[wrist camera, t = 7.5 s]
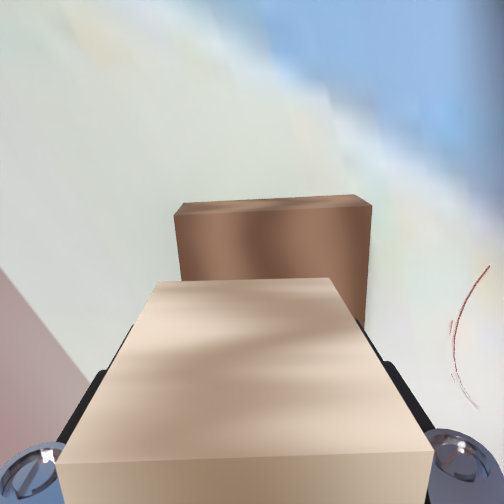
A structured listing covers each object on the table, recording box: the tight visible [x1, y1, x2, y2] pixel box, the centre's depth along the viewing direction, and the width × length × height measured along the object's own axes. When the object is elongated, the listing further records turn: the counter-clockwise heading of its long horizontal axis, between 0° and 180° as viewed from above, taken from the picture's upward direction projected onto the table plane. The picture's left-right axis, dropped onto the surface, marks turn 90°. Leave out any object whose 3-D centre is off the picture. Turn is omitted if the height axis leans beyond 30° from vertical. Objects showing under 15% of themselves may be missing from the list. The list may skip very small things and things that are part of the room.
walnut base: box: [174, 195, 372, 329], centre depth 27 cm, size 13×13×4 cm
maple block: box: [55, 278, 434, 504], centre depth 8 cm, size 5×5×6 cm
